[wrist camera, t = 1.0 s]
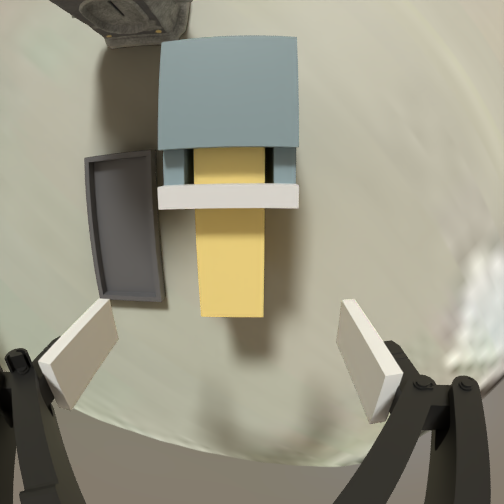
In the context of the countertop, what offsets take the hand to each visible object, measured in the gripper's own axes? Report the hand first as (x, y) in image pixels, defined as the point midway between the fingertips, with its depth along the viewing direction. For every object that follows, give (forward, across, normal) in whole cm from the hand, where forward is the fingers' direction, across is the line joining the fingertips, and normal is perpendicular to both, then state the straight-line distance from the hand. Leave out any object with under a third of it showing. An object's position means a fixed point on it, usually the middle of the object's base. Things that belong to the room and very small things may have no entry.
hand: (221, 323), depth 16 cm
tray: (+19, -14, +2) cm, 23 cm away
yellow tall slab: (+19, 0, +4) cm, 19 cm away
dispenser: (+19, 0, +12) cm, 22 cm away
